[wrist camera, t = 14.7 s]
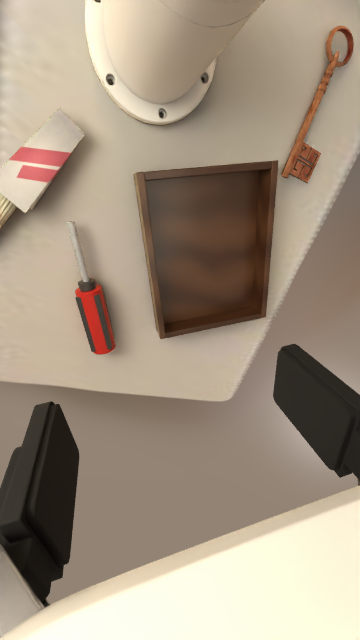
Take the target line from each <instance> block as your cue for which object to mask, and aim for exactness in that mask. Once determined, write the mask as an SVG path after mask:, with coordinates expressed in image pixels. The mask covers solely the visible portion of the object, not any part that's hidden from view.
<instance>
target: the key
mask: <svg viewBox="0 0 360 640" xmlns="http://www.w3.org/2000/svg"><path fill="white" fill-rule="evenodd" d="M336 31H341V32H342V33H344V34H345V36H346V38H347V41H348V52H347V56H346V58H345V60H344V61H343V62H338V57H339V51H337V52H336V54H335V55H334V56H333V55H332V51H331V42H332V38H333V36H334V34H335V32H336ZM353 46H354V44H353V37H352V34H351V32H350V31H349V29H348V28H346V27H344V26H337V27H335V28H334V29H333V30H332V31H331V33H330V34H329V36H328V38H327V42H326V54H327V58H328V60H329V62H330V64H329V66H328V69H327V70H326V72H325V74H324V78H323V79H322V81H321V85H320V86H319V87H318V89H317V93H316V96H315V98H314V100H313V103H312V105H311V107H310V110H309V112H308V115H307V117H306V119H305V122H304V124H303V126H302V129H301V131H300V133H299V136H298V138H297V140H296V143H295V145H294V147H293V150H292V152H291V154H290V157H289V159H288V161H287V164H286V166H285V169H284V171H283V173H282V176H283V177H285V178H287V177H288V175H289V173H290V174H292V175H294V176H295V177H298V178H299V179H301V180H303V181H304V182H306V183H308V181H309V179H310V176H311V174H312V172H313V170H314V168H315V166H316V163H317V161H318V159H319V157H320V155H321V153H319V152H318V151H316V150H315V149H313V148H311V147H310V146H309V145H307V144H306V143H304V142H303V141H304V138H305V136H306V134H307V131H308V129H309V127H310V125H311V122H312V120H313V118H314V115H315V113H316V111H317V108H318V106H319V104H320V102H321V99H322V97H323V95H324V94H325V92H326V89H327V85H328V84H329V81H330V77H332V74H333V71H334V68H335V66H336V67H341V66H343V65H345V64H346V63H347V62H348V61H349V59H350V58H351V55H352V52H353ZM302 147H305V149H304V148H302ZM301 149H302V150H301ZM308 153H309V154H308ZM299 154H300V155H299ZM314 154H316V155H317V157H316V156H315V155H314ZM307 155H308V156H307ZM298 156H301V157H302V158H304V159H306V160H307V161H309V162H310V163H313V165H311V164H310V163H308V162H306V161H305V160H303V159H301V158H300V157H298ZM315 158H316V159H315ZM297 159H298V160H300V161H302V162H303V163H305V164H307V165H308V166H310V167H312V168H309V167H307V166H306V165H303V164H302V163H301V162H299V161H297V162H296V160H297ZM295 163H296V164H295ZM294 165H295V166H294ZM302 166H303V167H302ZM293 167H294V168H295V169H296V170H294V169H293ZM310 169H311V170H310ZM300 171H301V172H300ZM299 173H300V174H299ZM305 174H306V175H308V176H307V177H306V176H305ZM298 175H299V176H298Z"/></svg>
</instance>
